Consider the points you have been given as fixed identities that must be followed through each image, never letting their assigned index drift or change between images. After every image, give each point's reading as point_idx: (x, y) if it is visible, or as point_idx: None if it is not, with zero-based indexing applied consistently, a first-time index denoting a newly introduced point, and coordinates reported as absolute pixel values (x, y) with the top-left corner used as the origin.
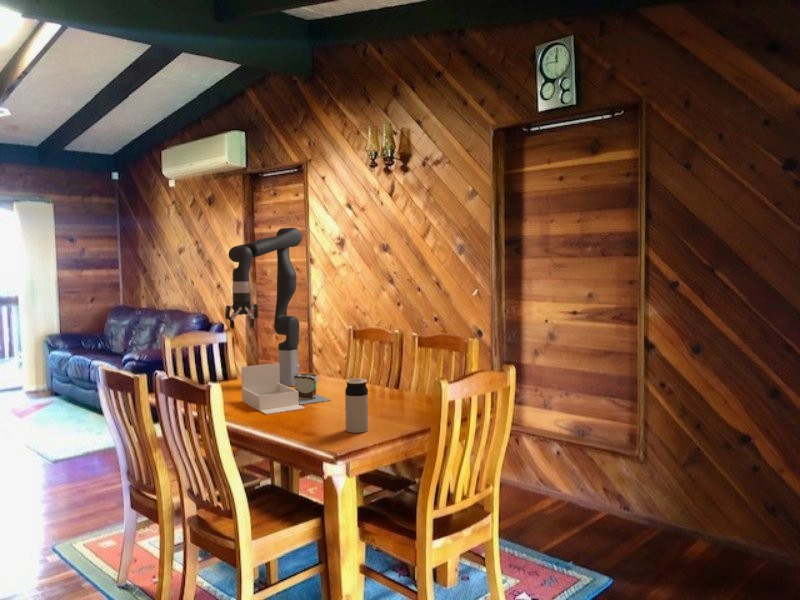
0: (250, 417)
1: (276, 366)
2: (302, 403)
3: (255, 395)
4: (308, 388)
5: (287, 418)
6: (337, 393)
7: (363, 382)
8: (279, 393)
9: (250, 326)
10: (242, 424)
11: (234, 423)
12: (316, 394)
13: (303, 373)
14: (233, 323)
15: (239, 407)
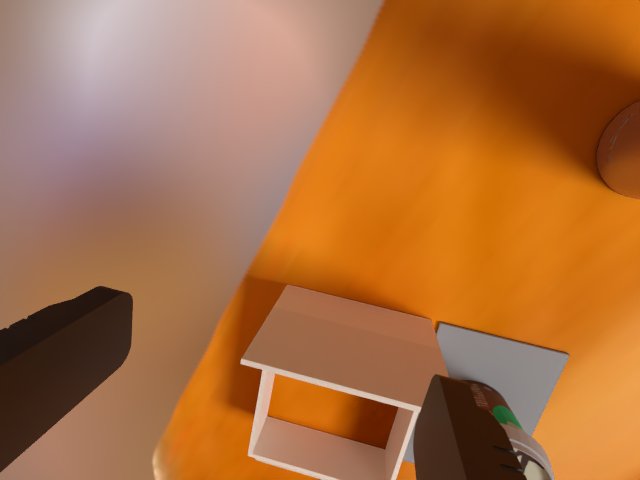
0: (211, 446)
1: None
2: (406, 455)
3: (253, 425)
4: None
5: None
6: (622, 435)
7: None
8: (320, 474)
9: (427, 410)
10: (167, 476)
11: (156, 457)
12: (543, 404)
13: (532, 456)
14: (37, 421)
15: (242, 340)
